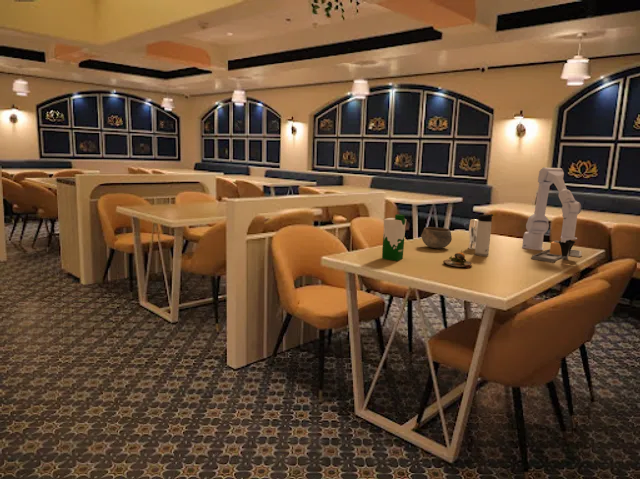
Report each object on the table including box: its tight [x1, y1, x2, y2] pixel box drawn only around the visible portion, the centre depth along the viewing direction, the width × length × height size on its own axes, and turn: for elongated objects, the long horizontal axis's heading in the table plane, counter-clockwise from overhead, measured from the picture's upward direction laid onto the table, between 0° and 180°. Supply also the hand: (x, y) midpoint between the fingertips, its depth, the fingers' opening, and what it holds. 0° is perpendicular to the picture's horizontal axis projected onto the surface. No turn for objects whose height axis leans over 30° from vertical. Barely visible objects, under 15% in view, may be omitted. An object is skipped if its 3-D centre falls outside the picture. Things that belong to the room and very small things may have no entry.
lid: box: [531, 252, 562, 263], centre depth 237 cm, size 10×13×2 cm
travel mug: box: [474, 213, 494, 257], centre depth 239 cm, size 6×7×20 cm
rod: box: [561, 252, 569, 261], centre depth 236 cm, size 3×3×7 cm
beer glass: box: [467, 218, 479, 251], centre depth 257 cm, size 7×7×15 cm
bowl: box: [420, 226, 453, 250], centre depth 255 cm, size 14×15×10 cm
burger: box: [442, 250, 473, 270], centre depth 214 cm, size 12×12×8 cm
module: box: [549, 240, 562, 255], centre depth 248 cm, size 4×4×7 cm
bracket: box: [568, 249, 583, 258], centre depth 247 cm, size 5×5×3 cm
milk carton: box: [381, 214, 407, 262], centre depth 221 cm, size 9×9×20 cm
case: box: [539, 248, 562, 259], centre depth 248 cm, size 10×17×2 cm, turn 139°
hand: (565, 255), depth 236 cm, fingers closed on rod, 3 cm apart
